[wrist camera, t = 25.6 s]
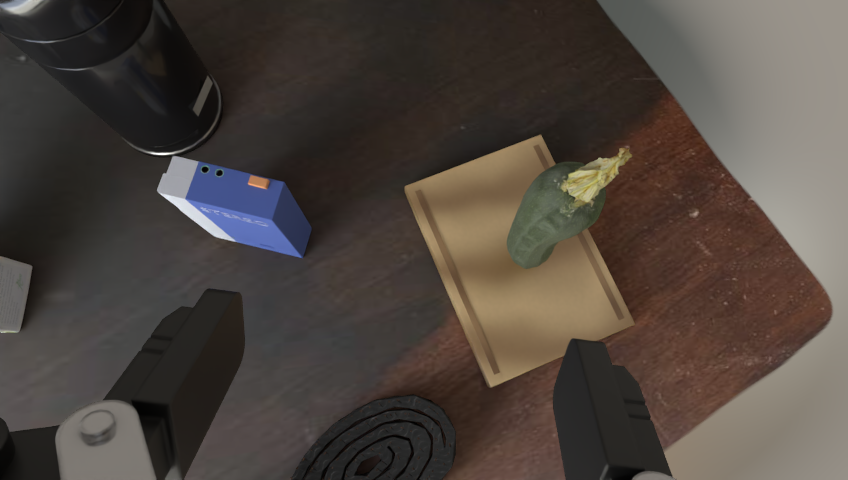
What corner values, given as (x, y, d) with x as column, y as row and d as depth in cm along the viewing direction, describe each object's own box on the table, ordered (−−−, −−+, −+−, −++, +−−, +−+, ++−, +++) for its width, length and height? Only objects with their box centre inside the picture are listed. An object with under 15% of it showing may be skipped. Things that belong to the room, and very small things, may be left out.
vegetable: (495, 277, 46) (563, 203, 26) (489, 226, 47) (551, 119, 27) (548, 273, 46) (654, 197, 27) (541, 223, 47) (638, 114, 28)
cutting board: (404, 191, 49) (404, 185, 47) (537, 141, 51) (541, 133, 49) (488, 387, 45) (491, 387, 44) (628, 325, 47) (636, 324, 45)
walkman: (312, 227, 48) (283, 179, 36) (302, 258, 47) (270, 219, 36) (224, 206, 48) (167, 150, 36) (213, 236, 47) (152, 190, 36)
